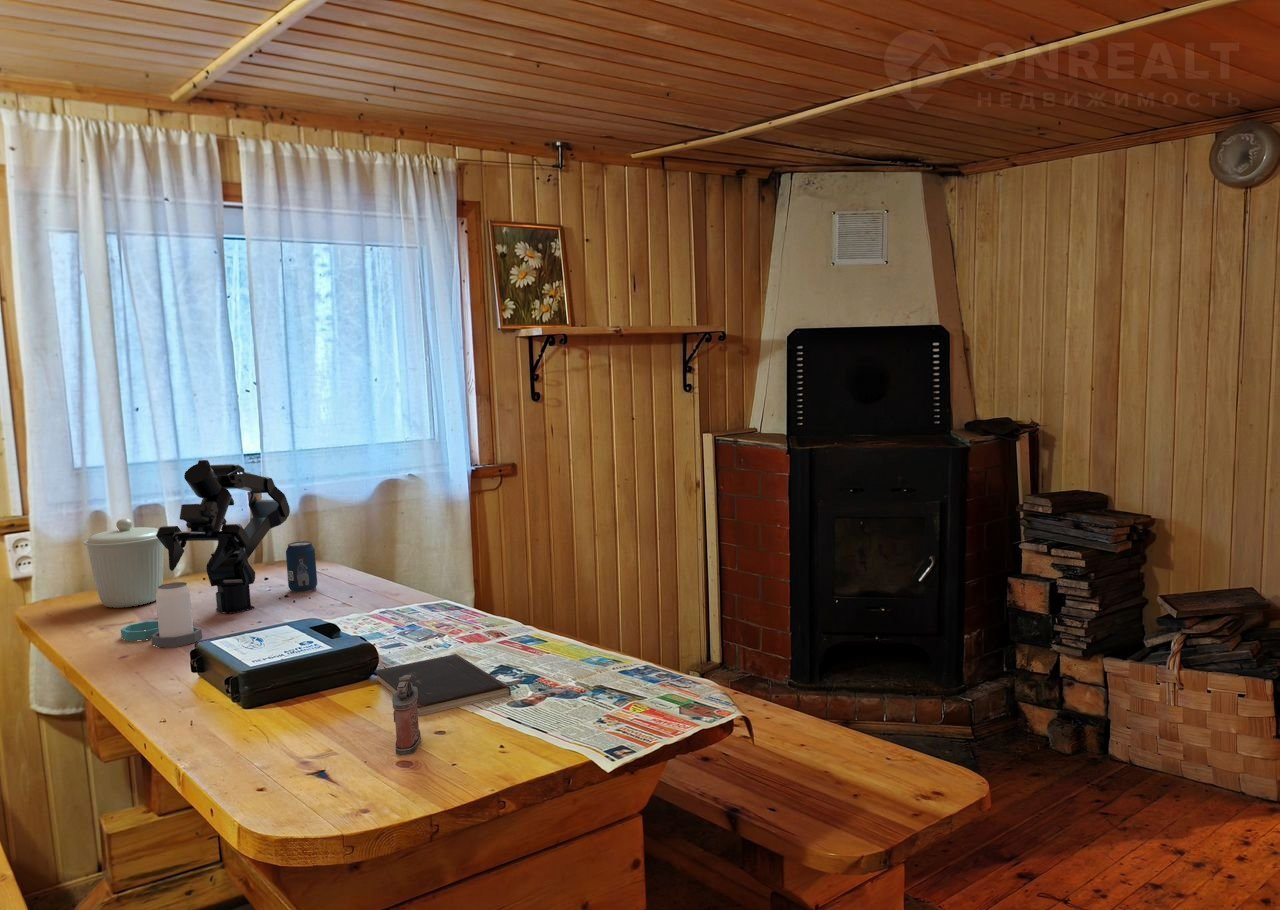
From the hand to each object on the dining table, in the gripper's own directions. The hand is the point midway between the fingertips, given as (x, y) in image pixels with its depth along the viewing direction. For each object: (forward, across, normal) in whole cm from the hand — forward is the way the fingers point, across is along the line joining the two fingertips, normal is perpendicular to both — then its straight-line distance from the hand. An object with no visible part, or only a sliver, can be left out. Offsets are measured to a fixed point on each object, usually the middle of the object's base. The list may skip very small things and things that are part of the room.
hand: (191, 569), depth 214 cm
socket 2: (+15, 0, +4) cm, 16 cm away
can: (+16, 0, +4) cm, 16 cm away
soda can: (-16, +9, +36) cm, 40 cm away
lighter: (+56, +67, -36) cm, 95 cm away
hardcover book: (+38, +65, -18) cm, 78 cm away
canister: (-9, -31, +29) cm, 43 cm away
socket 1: (+12, -10, +8) cm, 17 cm away
